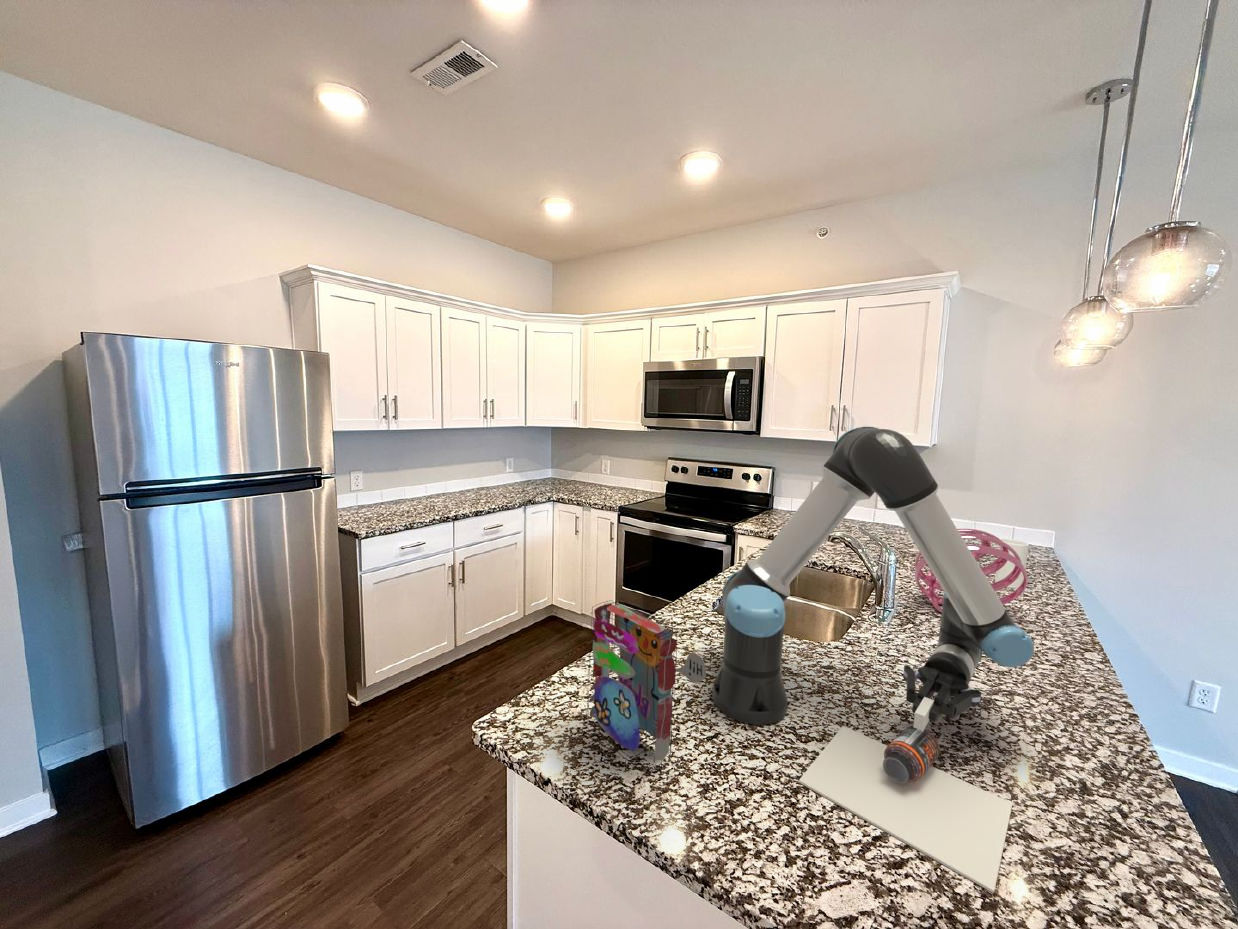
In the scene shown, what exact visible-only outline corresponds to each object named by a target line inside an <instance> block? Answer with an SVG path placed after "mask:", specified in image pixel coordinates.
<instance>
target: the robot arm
mask: <svg viewBox="0 0 1238 929" xmlns="http://www.w3.org/2000/svg"><path fill="white" fill-rule="evenodd" d="M822 473H823V474H822V475H823V476H822V478H821V480H819V482H818V483H817V485H815V487H814V489H812V491H811V492H810V493H809V495H808V496H807V497H806V498H805V500H804V501H803V502H802V504H801V505H800V506H799V507H798V508H797V509H796V511H795V512H794V513H793V514H792V516H791V517H790V518H789V520H788V521H787V522H786V523H785V525H784V526H783V527H782V528H781V529H780V531H779V532H778V533H777V535H776V536H775V537H774V539H772V541H771V542H770V543H769V544H768V546H767V547H766V549H765V550H764V551H763V552H762V554H761V555H759V557H758V558H757V559H748V560H747V562H745V564H744V565H743V566H742V568H741V569H740V570H739V569H738V570H737V571H735V572H734V573H732V574H731V575H730V576H729V577H728V578H727V579H726V581H725V583H724V585H723V588H722V595H721V597H722V598H721V599H722V603H723V604H722V605H723V616H724V617H723V618H724V619H723V620H724V636H723V651H722V654H723V655H722V656H723V657H722V663H721V665H720V668H719V671H718V673H717V675H716V677H715V680H714V682H713V685H712V686H713V687H712V701H713V703H714V705H715V707H716V708H717V709H718V710H719V711H720V712H722V713H723V714H724V715H726V716H727V717H728V718H731V719H733V720H736V721H738V722H742V723H746V724H749V725H756V726H757V725H759V726H760V725H763V726H764V725H771V724H774V723H777V722H779V721H781V720H782V719H783V718H785V716H786V715H787V711H788V697H787V692H786V688H785V684H784V680H783V678H782V672H781V668H782V657H783V656H782V654H783V653H782V652H783V642H784V628H785V621H786V609H785V608H786V607H785V603H784V602H786V600H787V599H788V597H789V596H790V595H791V590H790V584H791V582H792V581H793V580H794V579H795V578H796V577H797V575H798V574H799V573H800V572H801V571H802V569H803V568H804V567H805V565H806V564H808V561H810V560H811V558H812V557H813V556H814V554H816V552H817V551H818V550H819V549H820V547H821V546H822V545H823V544H824V543H825V542H826V541H827V539H828V537H829V536H830V535H831V534H832V533H833V532H834V530H835V529H836V528H837V527H838V526H839V524H840V523H841V522H842V521H843V520H844V518H845V517H846V516H847V515H848V513H849V512H850V511H851V510H852V509H853V507H854V506H855V505H856V504H857V502H859V501H864V500H870V498H872V497H873V495H874V494H876V495H877V496H878V497H879V498H880V500H881V501H882V503H883V505H884V506H885V508H886V509H887V510H888V511H889V510H890V511H893V512H895V514H896V515H897V517H898V518H899V520H900V522H901V523H902V526H904V528H905V530H906V531H907V533H908V535H909V536H910V538H911V541H912V542H913V543H914V545H915V546H916V548H917V549H918V552H919V551H920V553H921V554H922V556H923V558H924V559H925V561H926V563H927V564H928V566H929V568H930V569H931V571H932V572H933V574H934V576H935V577H936V580H937V581H938V582H939V584H940V586H941V587H942V589H943V590H944V591H943V595H942V598H943V604H941V605H942V607H941V609H942V613H941V618H940V627H939V634H938V642H937V645H936V648H935V649H934V650H933V652H932V653H931V655H930V656H929V657H928V659H927V660H926V662H925V664H924V665H923V667H920V668H918V669H917V670H915V669H913V668H912V667H911V666H909V665H904V666H903V674H902V675H903V676H902V678H903V680H904V681H905V683H906V692H905V693H906V696H905V697H906V702H907V703H910V704H912V707H911V708H912V709H911V711H912V713H913V714H914V718H913V725H912V726H913V727H914V728H917V729H919V730H921V731H924V729H926V727H927V725H928V723H929V722H930V720H931V721H933V722H937V721H938V720H939V717H940V716H941V715H945V717H946V718H948V719H950V720H952V719H955V718H957V717H958V716H959V715H961V714H962V713H964V712H965V711H967V710H968V709H970V708H971V707H978V706H980V704H981V698H982V696H981V695H982V692H981V691H980V690H979V689H970V687H969V686H970V685H969V684H970V682H971V680H972V677H973V676H974V673H975V671H976V669H977V666H979V664H980V662H981V660H982V657H983V655H984V656H985V657H987V658H988V659H991V660H992V661H993V662H995V663H996V664H998V665H1000V666H1002V667H1004V668H1018V667H1021V666H1023V665H1025V664H1027V663H1029V661H1030V660H1031V659H1032V658H1033V656H1034V654H1035V653H1034V652H1035V646H1034V641H1033V640H1032V638H1031V637H1030V636H1029V635H1028V634H1027V633H1026V632H1025V630H1023V628H1020V627H1019V626H1017V625H1016V623H1015V622H1014V620H1013V619H1012V617H1011V616H1010V614H1009V613H1008V610H1007V609H1006V608H1005V606H1004V605H1003V604H1002V603H1001V601H1000V597H999V596H998V595H997V592H996V591H994V589H993V588H992V586H991V584H992V583H990V580H988V577H987V576H985V575H984V573H983V571H982V570H981V568H982V567H981V566H980V565H979V563H978V560H975V558H974V556H973V555H972V553H973V552H971V551H970V550H969V548H968V546H967V545H968V544H967V543H966V542H965V539H963V538H962V536H961V535H960V534H961V533H959V531H958V530H957V529H958V528H957V526H956V525H955V523H954V521H953V520H952V518H951V517H950V515H949V513H948V511H947V509H946V508H945V507H944V505H943V503H942V501H941V499H939V496H938V495H937V492H938V490H939V485H938V483H937V481H936V480H935V477H934V476H933V474H932V473H931V471H930V469H929V468H928V466H927V464H926V462H925V461H924V459H923V458H922V456H921V455H920V453H919V451H918V450H917V448H916V447H915V445H914V444H913V443H912V442H911V441H910V440H909V439H908V438H907V437H906V436H905V435H904V434H902V433H900V432H899V431H897V430H892V429H889V428H888V429H885V428H878V427H875V426H864V425H863V426H859V427H855V428H852V429H849V430H847V431H846V432H844V433H843V434H841V435H840V436H839V438H837V440H836V442H835V444H834V445H833V450H832V454H831V455H830V457H829V458H828V459H827V460H826V461H825V462H824V464H823V466H822ZM922 556H921V557H922ZM928 566H927V567H928ZM980 567H981V568H980ZM929 568H928V569H929ZM930 569H929V570H930ZM917 678H918V679H917ZM916 680H919V681H920V683H922V685H921V686H922V687H921V688H920V690H919V691H918V692H917V691H916ZM935 693H937V694H936V695H934V694H935ZM932 697H934V699H931V698H932ZM953 697H954V698H953ZM951 698H952V699H951Z"/></svg>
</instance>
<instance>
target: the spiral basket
mask: <svg viewBox="0 0 1238 929" xmlns="http://www.w3.org/2000/svg"><path fill="white" fill-rule="evenodd" d="M957 530H958V531H959V533H960V535H961V536H962V538H963V540H965V539H967V540H968V539H969V540H971V539H972V540H979V541H980V544H966V545H967V546H968V548H969V550H970V551H971V553H972V555H973V556H974V558H975V560H976V561H978V560H980V559H982V558H983V557H985V556H986V555H992V556H995V557H997V558H996V559H995V560H994V561H993V562H991V563H990V564H988V565H985V566H983V567H981V566H980V568H981V570H982V571H983V573H984V575H985V576H986V577H987V576H989V575H991V574H994V573H996V571H998V570H999V569H1001V568H1002V567H1003V566H1004V565H1005V564H1006V562H1007V561H1010V562H1012V563H1013V564H1015V567H1014V569H1013V571H1012V572H1011V573H1010V574H1009V575H1008V576H1007V577H1005V578H1004V579H1002V580H1000V581H998V582H995V581H994V582H993V583H990V584H991V586H992V588H993V589H994V591H995V592H997V591H1001V590H1003V589H1005V588H1008V587H1007V586H1009V585H1010V584H1012V583H1013V582H1014V581H1015V580H1016V579H1017V578H1018V577H1019V575H1020V573H1021V571H1022V573H1023V582H1022V584H1021V585H1020V586H1019V588H1015V590H1013V592H1011V593H1009V594H1007V595H1005V596H1002V597H999V599H1000V601H1001V603H1002V604H1003V606H1004V605H1006V604H1009V603H1012V601H1014V600H1016V599H1017V598H1019V597H1020V596H1022V594H1023V593H1024V592H1025V590H1026V588H1027V586H1028V582H1029V581H1028V579H1029V578H1028V572H1027V568H1026V569H1025V567H1024V566H1023V564H1022V562H1021V559H1020V557H1019V555H1018V554H1017V553H1016V551H1015V550H1014V549H1013V548H1012V547H1010V546H1009V545H1008V544H1006V543H1005V542H1003V541H1002V540H1000V539H1001V538H999V537H997V535H994V534H993V533H990V532H987V531H983V530H980V529H974V528H957ZM991 543H995V544H996V545H998V547H999V546H1000V550H999V548H995V547H992V544H991ZM1008 550H1010V551H1011V552H1012V553H1013V555H1014V556H1015V557H1014V556H1012V555H1011V554H1009V551H1008ZM915 557H916V558H915V559H914V560H915V561H914V568H915V569H914V580H915V584H916V586H917V587H918V589H919V591H920V592H921V593H922V594H924V595H925V596H926V597H927V598H928V599H929V601H930V603H931V604H932V606H933V607H934V608H935V609H936V611H938V612H939V613H940V614H942V607H940V605H939V604H941V605H943V597H941V596H940V595H937V594H936V590H938V591H941V592H944V590H943V589H942V587H941V586H940V584H939V582H938V581H937V579H936V577H935V576H934V574H933V572H932V571H931V569H930V568H929V566H928V564H927V563H926V561H925V559H924V558H923V556H922V554H921V553H920V551H919V550H918V552H917V554H916V556H915ZM920 558H921V559H920ZM925 566H927V568H928V569H929V574H928V575H927V574H925V573H924V571H923V570H922V569H923V568H924V567H925ZM919 578H920V579H921V580H922V581H923V582H924V584H925V585H926V587H927V588H925V587H924V586H923V585H922V583H921V582H920V580H919Z"/></svg>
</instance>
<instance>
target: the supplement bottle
mask: <svg viewBox="0 0 1238 929" xmlns="http://www.w3.org/2000/svg"><path fill="white" fill-rule="evenodd" d="M886 746H887V747H886V749H885V751H884V761H883V768H884V770H885V772H886V774H887V775H888V776H889V778H891V779H892V780H893V781H895V782H897V783H906V782H915V781H918V780H919V779H920V778H921V777H922V776H923V775H924V774H925V773H926V771H927V770H928V769H929V768H930V767H931V766H932V765H934V763H935V762H936V761H937V759H938V758H939V756H940V754H941V748H940V744H939V742H938V740H937V738H936V737H935V735H933V733H932V732H930V731H929V730H928V729H926V728H925V729H924V731H921V730H919V729H917V728H914V727H913V725H909V726H908V727H906V728H905V729H904V730H902V732H900V733H899V734H898V735H897V736H896V737H895V738H894V739H893V740H892V741H891V742H890V743H889V744H888V745H886Z"/></svg>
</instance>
